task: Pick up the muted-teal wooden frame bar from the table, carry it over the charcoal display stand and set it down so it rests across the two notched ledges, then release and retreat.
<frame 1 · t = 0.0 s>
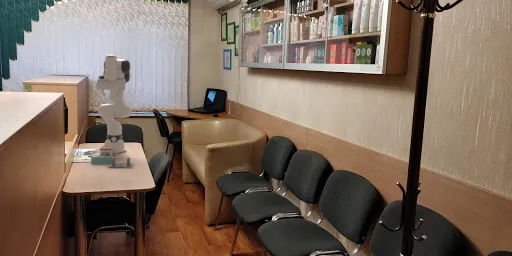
hand: (110, 96, 303), 48 cm above the table, fingers open, 8 cm apart
frame bar: (101, 163, 299), on the table
teacup with lid: (108, 159, 312), on the table
display stand: (121, 166, 294), on the table
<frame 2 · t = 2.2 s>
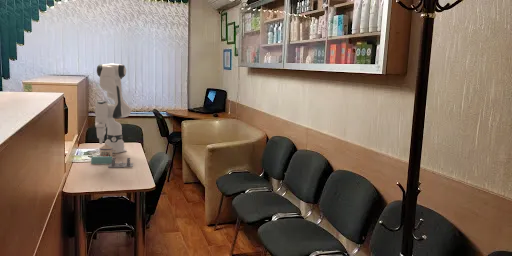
hand: (101, 142, 297), 15 cm above the table, fingers open, 8 cm apart
nothing on the table moved.
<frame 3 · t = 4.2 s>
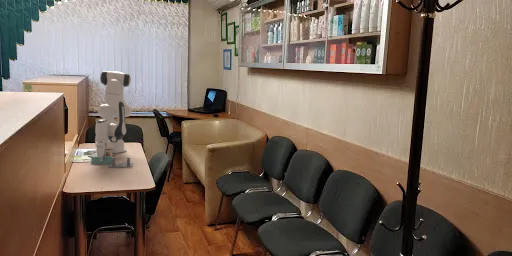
hand: (101, 160, 299), 2 cm above the table, fingers closed on frame bar, 2 cm apart
frame bar: (101, 163, 299), on the table, touching gripper
everything else where it was.
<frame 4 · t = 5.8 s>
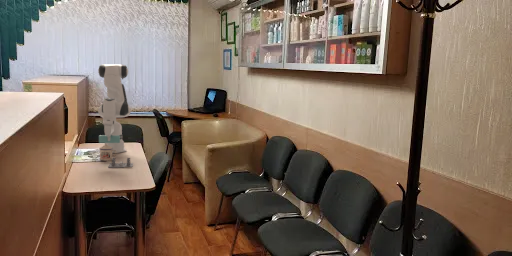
hand: (109, 140, 294), 18 cm above the table, fingers closed on frame bar, 2 cm apart
frame bar: (109, 142, 294), point 16 cm above the table, touching gripper
everything else where it was.
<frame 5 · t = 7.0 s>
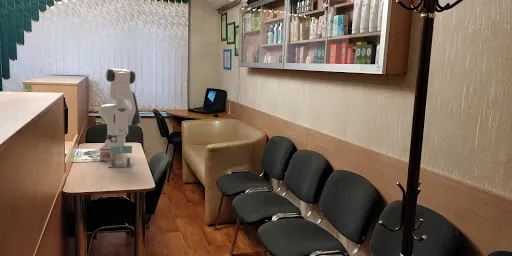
hand: (121, 150, 292), 11 cm above the table, fingers closed on frame bar, 2 cm apart
frame bar: (121, 153, 292), point 10 cm above the table, touching gripper
everything else where it was.
when the fingers open (8 cm above the table, at t = 7.8 s): frame bar drops 1 cm, resting on display stand.
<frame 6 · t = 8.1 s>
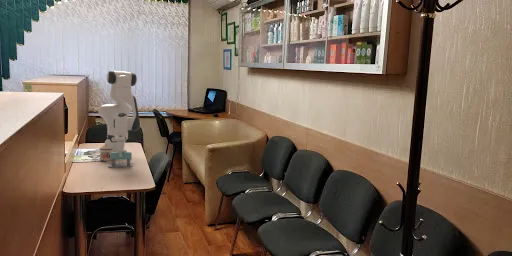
hand: (121, 155, 293), 8 cm above the table, fingers open, 5 cm apart
frame bar: (121, 159, 293), point 5 cm above the table, touching display stand
everything else where it was.
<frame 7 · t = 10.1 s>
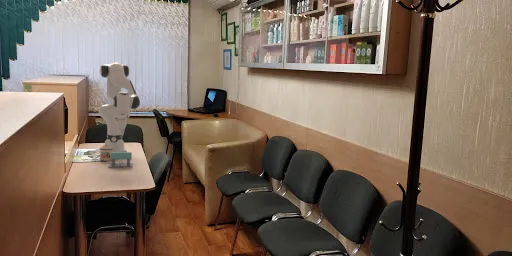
hand: (122, 133, 295), 23 cm above the table, fingers open, 8 cm apart
nothing on the table moved.
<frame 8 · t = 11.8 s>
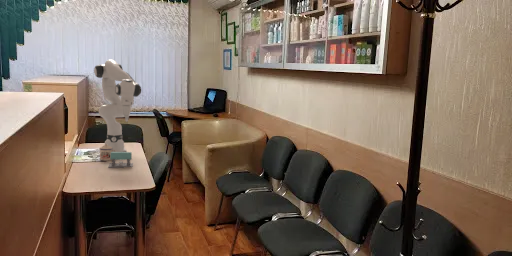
hand: (127, 120, 302), 31 cm above the table, fingers open, 8 cm apart
nothing on the table moved.
at the end: frame bar 0.1 cm off-centre on the display stand, point 5.0 cm above the display stand's base; frame bar tilted 0°; the gripper is holding nothing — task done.
